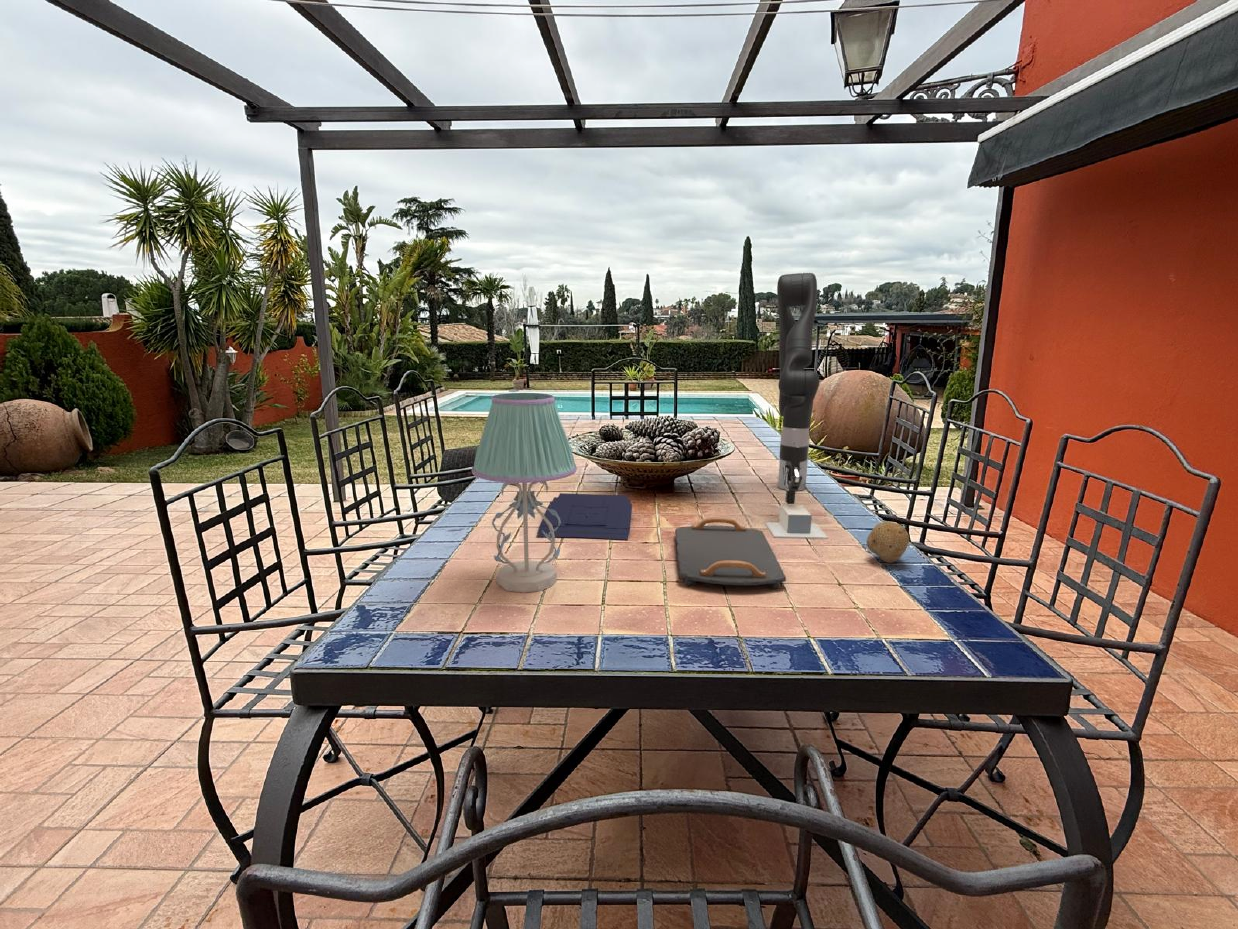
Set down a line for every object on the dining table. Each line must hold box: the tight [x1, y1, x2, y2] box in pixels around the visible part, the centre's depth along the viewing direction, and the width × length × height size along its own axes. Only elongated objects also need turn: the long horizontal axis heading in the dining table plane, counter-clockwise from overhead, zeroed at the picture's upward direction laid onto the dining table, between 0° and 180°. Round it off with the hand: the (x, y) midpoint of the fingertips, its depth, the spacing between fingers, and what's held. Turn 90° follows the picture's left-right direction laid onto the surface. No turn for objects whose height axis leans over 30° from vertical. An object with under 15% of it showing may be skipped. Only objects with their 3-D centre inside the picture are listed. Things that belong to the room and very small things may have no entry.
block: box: [778, 504, 813, 533], centre depth 176 cm, size 5×6×10 cm
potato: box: [866, 520, 910, 564], centre depth 152 cm, size 9×9×10 cm
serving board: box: [674, 516, 787, 590], centre depth 152 cm, size 39×23×6 cm, turn 177°
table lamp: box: [471, 392, 578, 594], centre depth 135 cm, size 22×22×40 cm
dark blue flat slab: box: [536, 492, 633, 541], centre depth 180 cm, size 24×30×4 cm
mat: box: [764, 521, 829, 540], centre depth 174 cm, size 12×14×1 cm
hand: (789, 503), depth 181 cm, fingers closed
